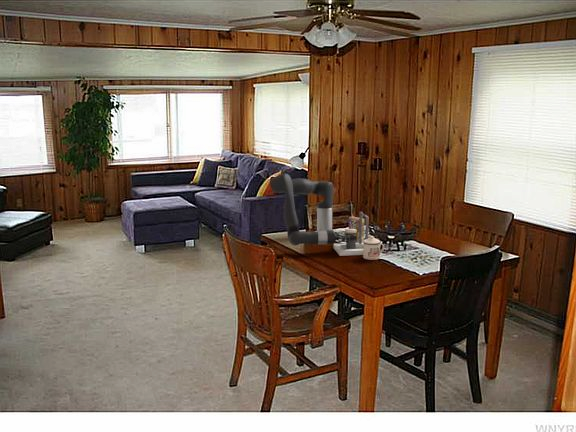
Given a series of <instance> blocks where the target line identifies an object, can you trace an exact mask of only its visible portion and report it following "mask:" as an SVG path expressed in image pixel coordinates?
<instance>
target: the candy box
mask: <svg viewBox="0 0 576 432" xmlns="http://www.w3.org/2000/svg"><path fill="white" fill-rule="evenodd" d="M348 229H356V230H357V233H356V237H357V240H356V243H359V217H358V216H357V217H356V216H349V217H348ZM364 240H365V218H363V217H362V243H363V241H364Z"/></svg>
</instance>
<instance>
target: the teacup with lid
mask: <svg viewBox="0 0 576 432" xmlns="http://www.w3.org/2000/svg"><path fill="white" fill-rule="evenodd" d="M381 247H382V248H381ZM362 249H363V255H362V257H363V259H364V260H369V261H374V260H376V261H377V260H379V259H380V258H381V257H380V256H381V255H380V254H381V253H382V252H383V251H384V250H385V245H384V244H383V243H382V242H381V241H380V240H379V239H377V238H375V237H374V236H373V235H371V236H370V237H368V239H366V240H365V239H364V241H363V248H362Z"/></svg>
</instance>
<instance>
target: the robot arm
mask: <svg viewBox="0 0 576 432" xmlns="http://www.w3.org/2000/svg"><path fill="white" fill-rule="evenodd" d="M269 187H270V189H271V190H272V191H273V192H274V193H276V194H285V195H284V196H285V199H284V200H285V203H284V207H283V220H284V223H285V227H286V232H287V233H286V234H287V238H288V239H287V240H288V242H289V244H290V245H292V246H299V245H304V244H307V245H334V244H336V241H338V243H346V242H349V241H350V240H357V237H356V236H346V232H345V230H343V231H335V230H333V203H334V196H335V195H334V194H335V192H334V191H335V187H334V184H333V182H331V181H325V180H318V181H317V180H316V181H314V180H312V181H311V180H310V179H309V178H301V177H300V178H298V177H297V178H293V179H292V177H291V176H290V174H288V173H281V174H280V175H277V176H275V177H273V178H272V179H271V180H270V181H269ZM294 194H298V195H304V196H305V195H310V194H312V195H315V196H319V197H323V200H321V201H319V202H317V203H316V230H315V231H314V230H313V231H302V230H300V228H299V218H298V215H297V212H296V208H295V207H296V206H295V195H294ZM346 238H347V239H346Z"/></svg>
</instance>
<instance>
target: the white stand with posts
mask: <svg viewBox="0 0 576 432" xmlns="http://www.w3.org/2000/svg"><path fill="white" fill-rule="evenodd" d="M363 217H364V219H365V223H364V240H366V239H368V238H369V224H370V223H369V216H368V215H366V214H364V213H363V211H359V217H358V218H359V243H356V249H346V242H340V243H334V244H333V250H335V252H336V253H337V254H338V255H339V256H340V257H341V256H343V257H345V256H363V243H362V218H363ZM345 249H346V250H345Z"/></svg>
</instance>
